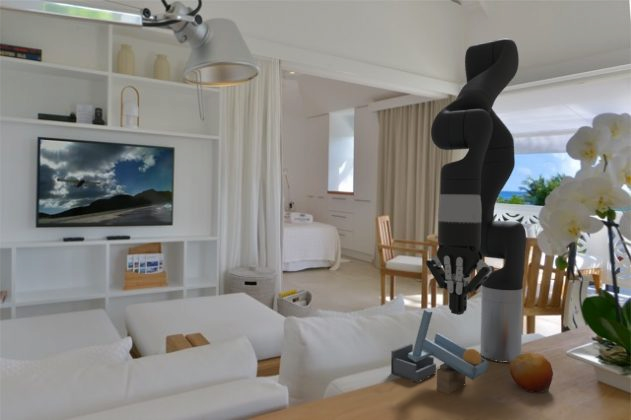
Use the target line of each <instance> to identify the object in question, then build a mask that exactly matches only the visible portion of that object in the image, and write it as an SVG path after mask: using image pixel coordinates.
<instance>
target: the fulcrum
mask: <svg viewBox="0 0 631 420" xmlns="http://www.w3.org/2000/svg"><path fill="white" fill-rule="evenodd" d="M439 366H440V367H439V369H436V390H437V389H438V390H437V391H439V390H440V391H439V392H442V391H443V392H442V393H444V394H447V395H449V394H450V393H453V392H454V391H456V390H458V389H460V388H462V387H463V386H465V385H466V382H467V381H466V380H467V379H466V378H467V376H465V375H463V374H462V373H460V372H458V371H457V370H455V369H454V368H452V367H450V366H449V365H447V364H445V363H444V362H443V363H441V364H440V365H439ZM464 384H465V385H464ZM462 385H463V386H462ZM459 387H460V388H459Z"/></svg>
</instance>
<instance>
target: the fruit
mask: <svg viewBox="0 0 631 420" xmlns="http://www.w3.org/2000/svg"><path fill="white" fill-rule="evenodd" d="M508 370H509V373H510V375H511V378H512V379H513V381H514V382H515V383H516V385H517V387H518V386H519V387H520V388H521V389H522V390H524V391H526V392H528V393H529V392H530V393H542V392H547V393H549V391H550V387H551V385H552V380H553V376H554V372H553V368H552V364H551V362H550V361H549V360H548V359H547V358H546V357H545V356H544V355H541V354H539V353H535V352H528V353H527V352H525V353H521V355H519V356H517V357H516V358H515V359H513V360H512V361H511V363H509V365H508Z"/></svg>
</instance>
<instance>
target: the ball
mask: <svg viewBox="0 0 631 420" xmlns="http://www.w3.org/2000/svg"><path fill="white" fill-rule="evenodd" d="M467 349H468V350H466V351H465V352H464V354H463V360H464V361H466V362H468V363H469V364H471V365H473V366H476V365H478V364H480V363H481V357H482V355H481V354H480V352H479V351H478V350H476V349H474V348H473V349H472V348H467Z"/></svg>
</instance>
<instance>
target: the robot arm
mask: <svg viewBox="0 0 631 420" xmlns="http://www.w3.org/2000/svg"><path fill="white" fill-rule="evenodd" d="M464 56H465V57H464V68H465V71H464V72H465V77H466V83H465V84H464V86H462V88H461V89H460V91H459V93H458V95H457V97H456V99H454V100H453V101H451V102H450V103H449V104H448V105H446V106H445V107H443V108H442V109H441V110H440V111H439V112H438V113H437V115H436V116H435V118H434V119H433V122H432V125H431V128H430V136H431V140H432V143H433V144H434V145H435V146H436V147H437V148H438V149H440V150H442V151H443V150H444V151H452V150H453V151H454V150H456V151H457V150H467V152H466V154H465V156H464V157H463V158H461V159H459V160H456V161H452V162H447V163H445V164H443V166H442V167H441V170H440V189H439V190H440V192H439V193H440V195H439V197H440V198H439V203H438V210H437V211H438V213H437V219H438V221H437V243H438V248H437V250H436V253H435V254H436V255H435V256H434V257H433V258H431V259H429V260H428V259H427V260H426V261H425V265H426V266H427V269H428V270H429V271H430V273H431V274H432V277H433V278H434V280H435V282H436V283H437V285H438V286H439V288H441V289H444V290H446V291H447V292H448V309H449V310H450V312H451V314H454V315H459V316H460V315H463V314H465V312H467V309H468V295H469V293H472V292H476V291H478V290H479V288H481V295H480V296H481V300H480V301H481V306H480V307H481V309H480V310H481V311H480V352H479V353H480V355H481V357H483V356H484V357H483V358H485V357H486V358H485V359H487V358H488V359H487V360H489V359H492V360H491V361H493V360H497V361H507V362H511V361H512V360H513V359H515V358H516V357H517V356H519V355H521V354H522V342H523V341H522V338H523V337H522V335H523V332H522V331H523V290H524V289H523V287H524V285H523V284H524V276H525V261H526V260H525V259H526V246H527V233H526V229H525V226H524V225H523V224H522V223H521V222H519V221H512V220H511V221H505V220H495V217H494V215H495V214H494V213H495V208H496V207H495V206H496V202H497V200H498V198H499V195H500V194H501V192H502V190H503V188H504V187H505V185H506V184H507V183H508V181H509V179H510V177H511V175H512V174H513V171H514V169H515V164H516V163H515V162H516V160H515V159H516V158H515V141H514V137H513V135H512V133H511V131H510V129H509V128H508V127H507V126H506V124H505V123H504V121H503V120H501V118H500V117H499V116H498V114H497V113H496V112H495V110H494V109H493V107H494V104H495V102H496V100H497V98H498V96H499V95H500V94H501V93H502V92H503V91H504V90H505V88H506V87H507V86H508V85H509V84H510V83H511V81H512V80H513V79H514V78H515V76H516V74H517V73H518V70H519V61H520V59H519V58H520V57H519V51H518V47H517V44H516V42H515V41H514V40H513V39H512V38H499V39H495V40H491V41H490V40H489V41H486V42H482V43H476V44H473V45H470V46H468V47H467V49H466V52H465V55H464ZM483 257H485V258H491V259H498V260H499V259H500V260H504V265H503V266H502V267H500V268H498V269H497V270H495V268H494V266H493V265H489V264H487V263H486V262H485V261H484V259H483ZM474 271H476V274H475V276H473V278H472V274H473V272H474ZM497 361H496V362H497Z"/></svg>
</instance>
